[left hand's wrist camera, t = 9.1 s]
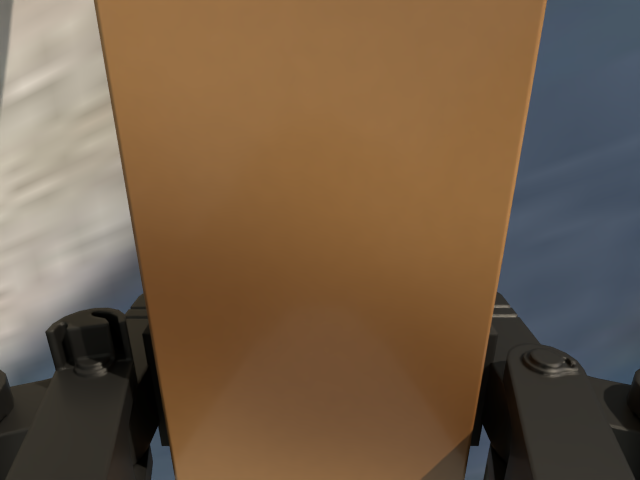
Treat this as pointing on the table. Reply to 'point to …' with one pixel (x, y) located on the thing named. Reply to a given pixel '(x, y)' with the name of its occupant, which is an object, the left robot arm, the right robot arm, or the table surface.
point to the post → (320, 222)
